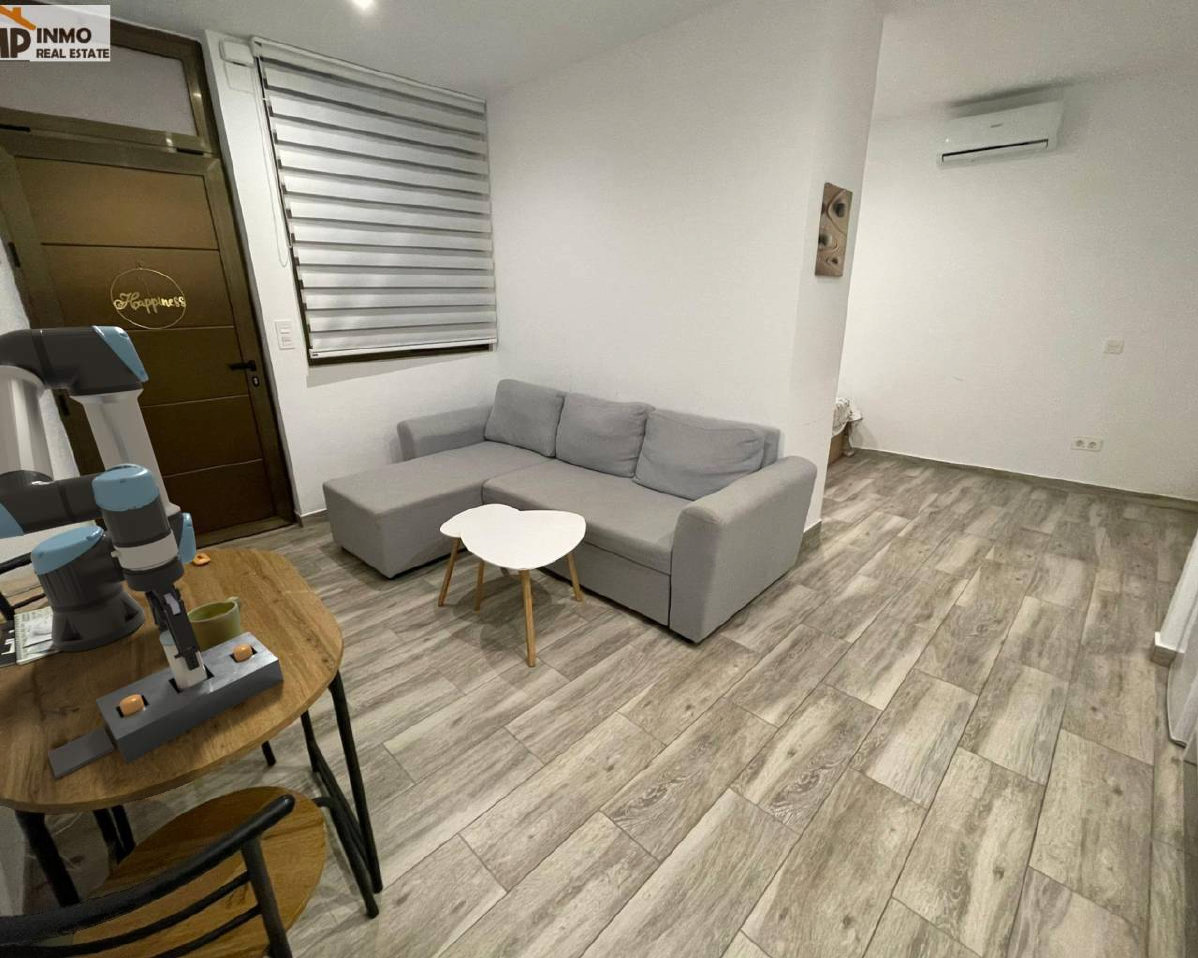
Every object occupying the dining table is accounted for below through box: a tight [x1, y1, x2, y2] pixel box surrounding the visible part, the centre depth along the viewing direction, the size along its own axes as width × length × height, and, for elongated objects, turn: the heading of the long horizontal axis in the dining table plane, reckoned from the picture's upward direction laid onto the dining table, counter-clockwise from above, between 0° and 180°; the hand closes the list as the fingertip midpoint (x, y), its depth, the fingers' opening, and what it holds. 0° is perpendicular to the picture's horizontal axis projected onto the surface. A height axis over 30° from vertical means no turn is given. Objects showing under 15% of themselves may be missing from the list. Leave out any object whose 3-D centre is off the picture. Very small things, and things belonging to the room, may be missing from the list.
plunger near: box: [119, 695, 145, 717], centre depth 90 cm, size 3×3×6 cm
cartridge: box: [158, 630, 208, 693], centre depth 95 cm, size 5×5×15 cm
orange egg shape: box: [233, 644, 253, 663], centre depth 103 cm, size 3×3×6 cm
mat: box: [47, 726, 116, 780], centre depth 86 cm, size 7×7×1 cm
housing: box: [95, 631, 284, 764], centre depth 97 cm, size 14×24×5 cm, turn 142°
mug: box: [187, 596, 244, 653], centre depth 113 cm, size 12×10×10 cm
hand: (188, 670), depth 95 cm, fingers open, 8 cm apart
